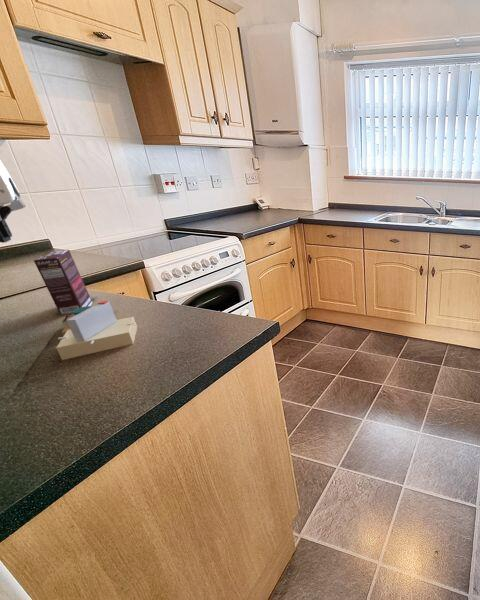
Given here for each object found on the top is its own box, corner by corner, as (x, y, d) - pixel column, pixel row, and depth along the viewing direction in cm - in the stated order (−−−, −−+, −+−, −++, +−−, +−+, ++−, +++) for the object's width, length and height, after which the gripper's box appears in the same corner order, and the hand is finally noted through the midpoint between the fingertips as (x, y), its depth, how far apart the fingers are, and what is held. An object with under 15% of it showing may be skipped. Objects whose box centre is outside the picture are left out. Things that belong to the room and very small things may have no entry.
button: (73, 320, 79) (70, 313, 78) (77, 314, 82) (74, 308, 81) (93, 316, 80) (90, 310, 80) (96, 311, 83) (93, 304, 83)
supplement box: (71, 306, 94) (46, 251, 87) (93, 303, 96) (70, 249, 89) (60, 319, 86) (31, 260, 80) (84, 315, 88) (58, 257, 82)
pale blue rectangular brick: (84, 341, 70) (74, 318, 68) (76, 341, 70) (65, 319, 68) (117, 321, 78) (109, 300, 76) (109, 321, 78) (101, 300, 76)
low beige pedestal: (55, 366, 67) (48, 352, 66) (72, 337, 78) (66, 325, 76) (135, 347, 73) (130, 334, 72) (141, 323, 84) (137, 312, 82)
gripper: (-132, 139, 53) (-65, 251, 61) (1, 139, 60) (47, 240, 68) (-100, 140, 59) (-43, 243, 67) (17, 140, 66) (58, 233, 73)
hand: (2, 241), depth 67 cm, fingers closed
